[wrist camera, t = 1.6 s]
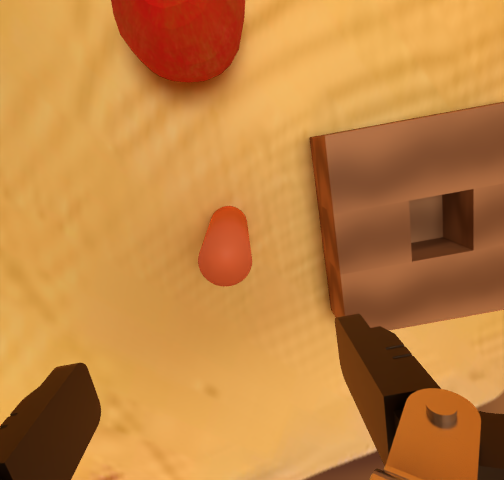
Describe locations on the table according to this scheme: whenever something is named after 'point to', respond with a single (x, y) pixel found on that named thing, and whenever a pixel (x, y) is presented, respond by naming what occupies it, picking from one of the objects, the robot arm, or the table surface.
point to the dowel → (226, 248)
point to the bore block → (414, 217)
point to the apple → (182, 35)
